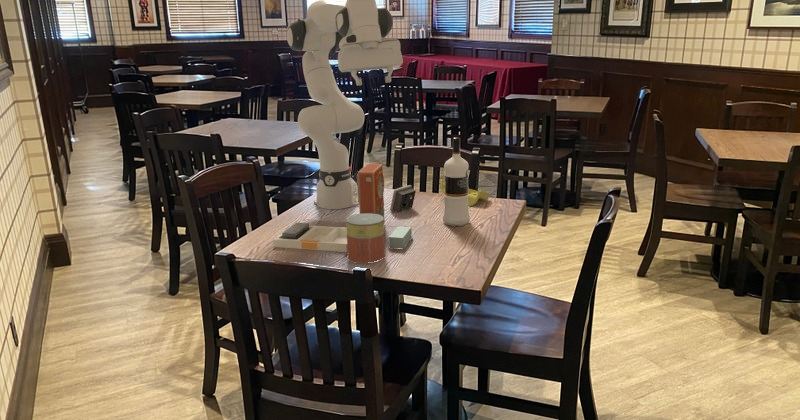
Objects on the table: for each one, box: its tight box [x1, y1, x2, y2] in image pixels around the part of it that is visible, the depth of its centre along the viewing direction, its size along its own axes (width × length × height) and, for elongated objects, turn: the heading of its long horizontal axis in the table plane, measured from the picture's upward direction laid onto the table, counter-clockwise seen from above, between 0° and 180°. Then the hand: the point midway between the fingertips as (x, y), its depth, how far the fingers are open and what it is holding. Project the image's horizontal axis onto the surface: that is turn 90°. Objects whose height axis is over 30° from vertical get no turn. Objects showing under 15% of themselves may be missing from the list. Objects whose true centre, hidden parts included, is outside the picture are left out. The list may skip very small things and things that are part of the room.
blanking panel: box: [388, 225, 413, 249], centre depth 191 cm, size 11×4×4 cm, turn 165°
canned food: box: [345, 213, 386, 264], centre depth 179 cm, size 11×11×12 cm
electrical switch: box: [389, 184, 417, 214], centre depth 225 cm, size 9×5×9 cm, turn 138°
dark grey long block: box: [281, 222, 310, 240], centre depth 195 cm, size 11×4×4 cm, turn 166°
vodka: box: [442, 136, 471, 227], centre depth 206 cm, size 9×9×30 cm
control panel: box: [356, 163, 386, 222], centre depth 203 cm, size 21×7×15 cm
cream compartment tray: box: [272, 224, 348, 254], centre depth 193 cm, size 16×24×3 cm, turn 76°
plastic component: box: [439, 179, 491, 207], centre depth 238 cm, size 20×7×10 cm
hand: (374, 83), depth 187 cm, fingers open, 8 cm apart
